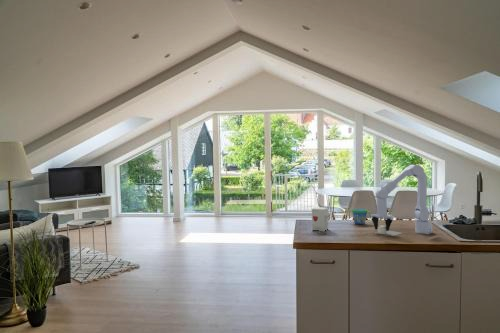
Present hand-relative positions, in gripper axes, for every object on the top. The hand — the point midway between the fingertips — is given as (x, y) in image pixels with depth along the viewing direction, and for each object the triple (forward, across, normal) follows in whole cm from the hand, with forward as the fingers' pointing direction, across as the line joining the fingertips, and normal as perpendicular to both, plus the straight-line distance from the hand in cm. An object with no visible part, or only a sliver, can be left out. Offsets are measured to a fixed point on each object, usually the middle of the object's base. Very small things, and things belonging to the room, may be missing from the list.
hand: (381, 229), depth 266 cm
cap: (+2, 0, 0) cm, 2 cm away
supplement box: (+4, -40, -12) cm, 41 cm away
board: (+3, +3, +3) cm, 5 cm away
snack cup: (+4, -34, +26) cm, 43 cm away
